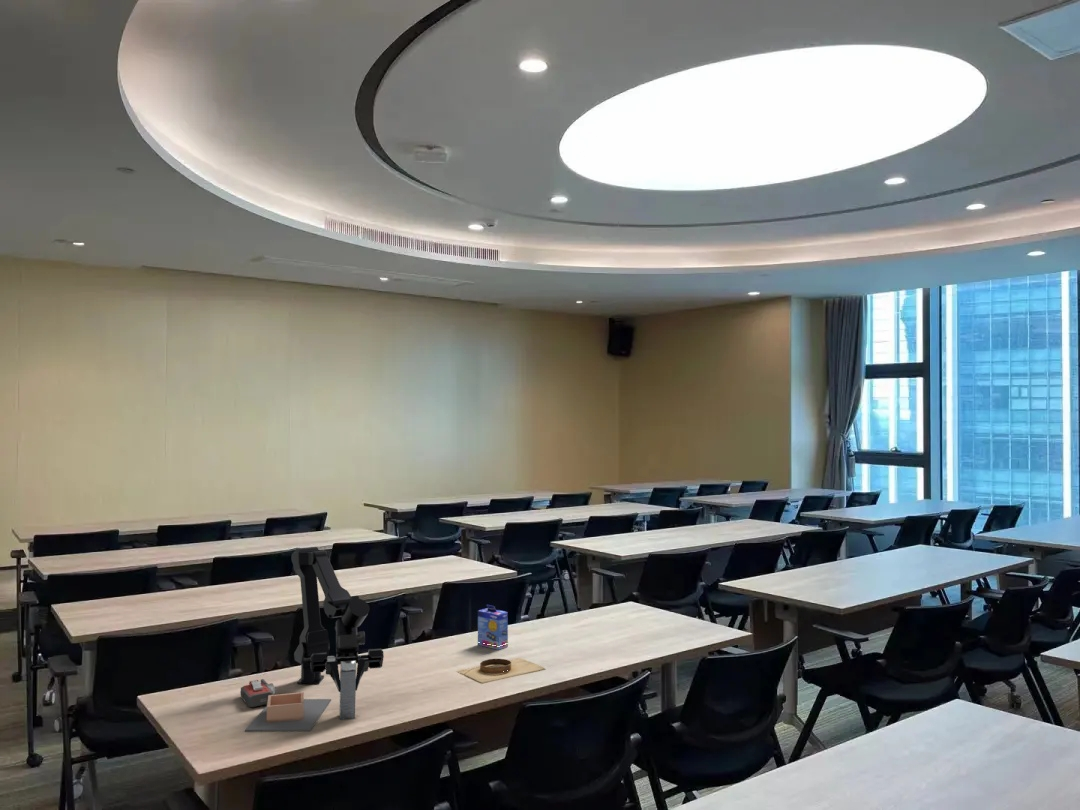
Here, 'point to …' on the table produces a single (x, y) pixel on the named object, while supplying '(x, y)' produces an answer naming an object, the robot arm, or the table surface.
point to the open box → (285, 707)
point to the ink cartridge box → (492, 627)
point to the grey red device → (257, 693)
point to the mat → (310, 717)
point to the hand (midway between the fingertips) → (348, 690)
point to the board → (500, 669)
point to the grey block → (347, 689)
